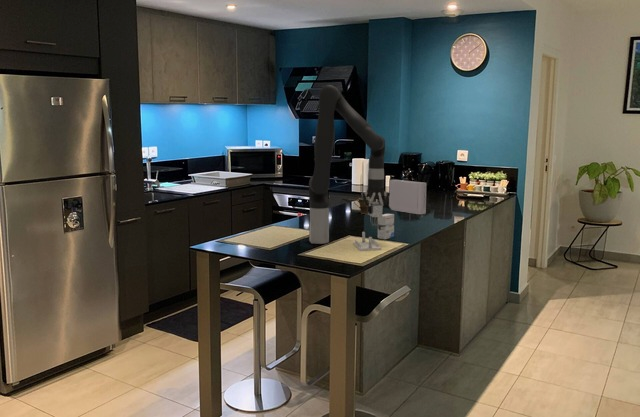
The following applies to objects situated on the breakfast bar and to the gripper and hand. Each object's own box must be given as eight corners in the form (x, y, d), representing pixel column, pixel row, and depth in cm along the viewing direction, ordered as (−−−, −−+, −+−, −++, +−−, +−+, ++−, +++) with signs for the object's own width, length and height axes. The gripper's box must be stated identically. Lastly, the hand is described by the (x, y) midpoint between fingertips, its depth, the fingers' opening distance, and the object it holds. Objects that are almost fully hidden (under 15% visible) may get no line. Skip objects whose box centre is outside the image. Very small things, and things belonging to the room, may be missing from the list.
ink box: (386, 235, 295) (386, 213, 293) (394, 236, 291) (394, 214, 290) (377, 238, 288) (377, 215, 286) (385, 239, 285) (385, 216, 283)
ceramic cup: (373, 212, 368) (373, 197, 367) (375, 215, 358) (375, 199, 357) (353, 213, 368) (353, 197, 366) (354, 215, 358) (354, 199, 356)
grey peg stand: (359, 250, 260) (360, 237, 259) (353, 244, 274) (353, 232, 273) (381, 249, 262) (381, 237, 261) (373, 243, 275) (373, 231, 274)
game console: (419, 214, 361) (420, 183, 358) (388, 209, 382) (389, 180, 379) (425, 213, 364) (426, 182, 361) (394, 208, 385) (395, 179, 382)
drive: (373, 217, 267) (373, 204, 266) (367, 214, 276) (368, 201, 275) (382, 216, 268) (382, 204, 267) (376, 213, 276) (377, 201, 275)
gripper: (363, 178, 264) (362, 215, 266) (392, 178, 267) (391, 214, 269) (359, 177, 271) (358, 212, 274) (388, 177, 274) (387, 212, 276)
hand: (375, 213), depth 271 cm, fingers closed on drive, 4 cm apart
